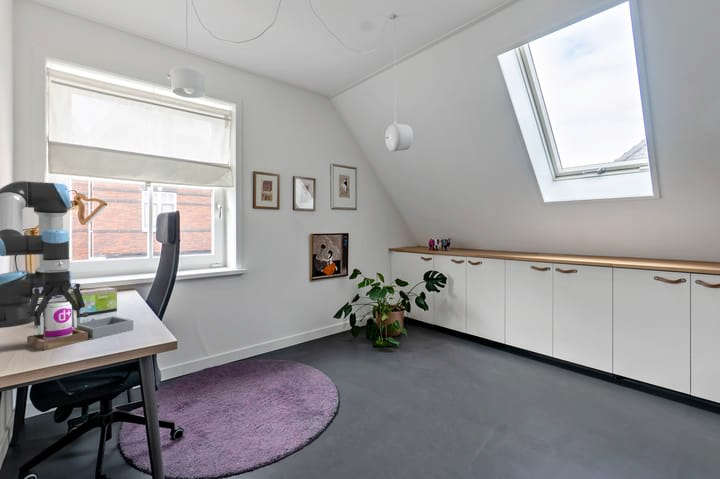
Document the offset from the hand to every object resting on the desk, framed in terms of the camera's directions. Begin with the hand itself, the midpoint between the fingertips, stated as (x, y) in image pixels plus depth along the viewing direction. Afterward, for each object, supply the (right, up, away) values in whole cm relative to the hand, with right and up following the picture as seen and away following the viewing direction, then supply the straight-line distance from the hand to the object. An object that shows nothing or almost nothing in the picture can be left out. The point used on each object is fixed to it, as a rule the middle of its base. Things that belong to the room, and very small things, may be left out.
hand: (57, 330), depth 131 cm
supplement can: (0, -5, 0) cm, 5 cm away
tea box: (-10, -4, +32) cm, 34 cm away
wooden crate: (0, -5, 0) cm, 5 cm away
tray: (+7, -4, +14) cm, 16 cm away
